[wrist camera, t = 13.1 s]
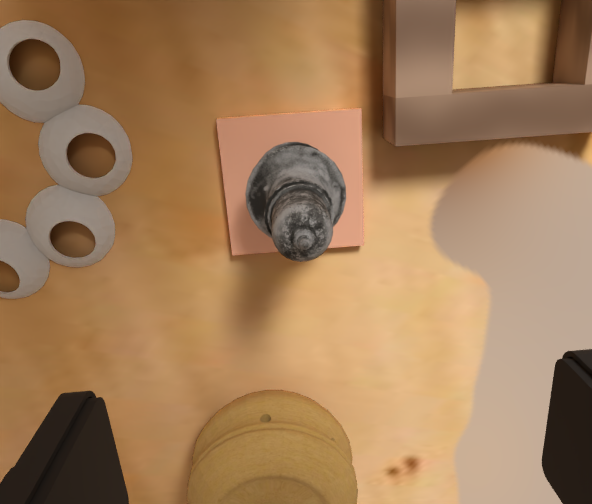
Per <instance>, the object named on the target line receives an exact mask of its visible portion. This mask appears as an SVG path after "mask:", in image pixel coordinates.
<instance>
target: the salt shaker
mask: <svg viewBox="0 0 592 504" xmlns="http://www.w3.org/2000/svg"><path fill="white" fill-rule="evenodd" d="M245 196H246V205H247V209H248V211H249V214H250V217H251V219H252V220H253V222H254V223H255V224H256V226H257V227H258V228H259V229H260V230H261V231H262V232H263V233H265V234H266V235H267V236H268V237H270V238H272V240H273V242H274V245H275V247H276V248H277V249H278V251H279V252H280V253H281V254H282V255H283V256H285V257H286V258H288V259H291V260H293V261H300V262H302V261H309V260H312V259H315V258H317V257H318V256H320V255H321V254H323V252H324V251H325V250H326V249H327V248H328V246H329V244H330V242H331V240H332V236H333V227H334V226H335V225H336V224H337V222H338V220H339V219H340V217H341V215H342V213H343V211H344V206H345V202H346V185H345V182H344V179H343V176H342V173H341V172H340V170H339V168H338V167H337V165H336V164H335V162H334V161H332V160H331V159H330V158H329V157H328V156H327V155H326V154H324V153H322V152H320V151H319V150H318V149H317V148H315V147H313V146H311V145H308V144H306V143H300V142H286V143H283V144H280V145H277V146H275V147H273V148H272V149H270V150H269V151H267V152H266V153H265V154H264V155H263V157H262V158H261V159H260V160H259V162H258V163H257V165H256V166H255V167H254V168H253V170H252V172H251V174H250V176H249V179H248V181H247V187H246V193H245Z"/></svg>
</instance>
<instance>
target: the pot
mask: <svg viewBox="0 0 592 504" xmlns="http://www.w3.org/2000/svg"><path fill="white" fill-rule="evenodd" d="M192 461H193V468H192V469H191V473H190V477H189V481H188V490H187V503H188V504H357V494H358V489H357V481H356V476H355V471H354V468H353V466H352V452H351V447H350V442H349V439H348V437H347V435H346V433H345V432H344V430H343V428H342V426H341V424H340V423H339V422H338V421H337V420H336V419H335V418H334V416H333V415H332V414H331V413H330V412H329V411H328V410H326V409H325V408H324V407H322V406H321V405H319V404H318V403H316V402H315V401H314V400H312V399H310V398H308V397H305V396H303V395H300V394H298V393H294V392H288V391H283V390H264V391H259V392H254V393H250V394H247V395H245V396H242V397H240V398H237V399H236V400H234V401H232V402H231V403H229V404H228V405H226V406H225V407H223V408H222V409H221V410H219V411H218V412H217V413H216V414H215V415H214V416H213V417H212V418H211V420H210V421H209V422H208V423H207V424H206V425H205V426H204V428H203V430H202V432H201V433H200V435H199V437H198V439H197V440H196V444H195V448H194V452H193V457H192Z"/></svg>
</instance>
